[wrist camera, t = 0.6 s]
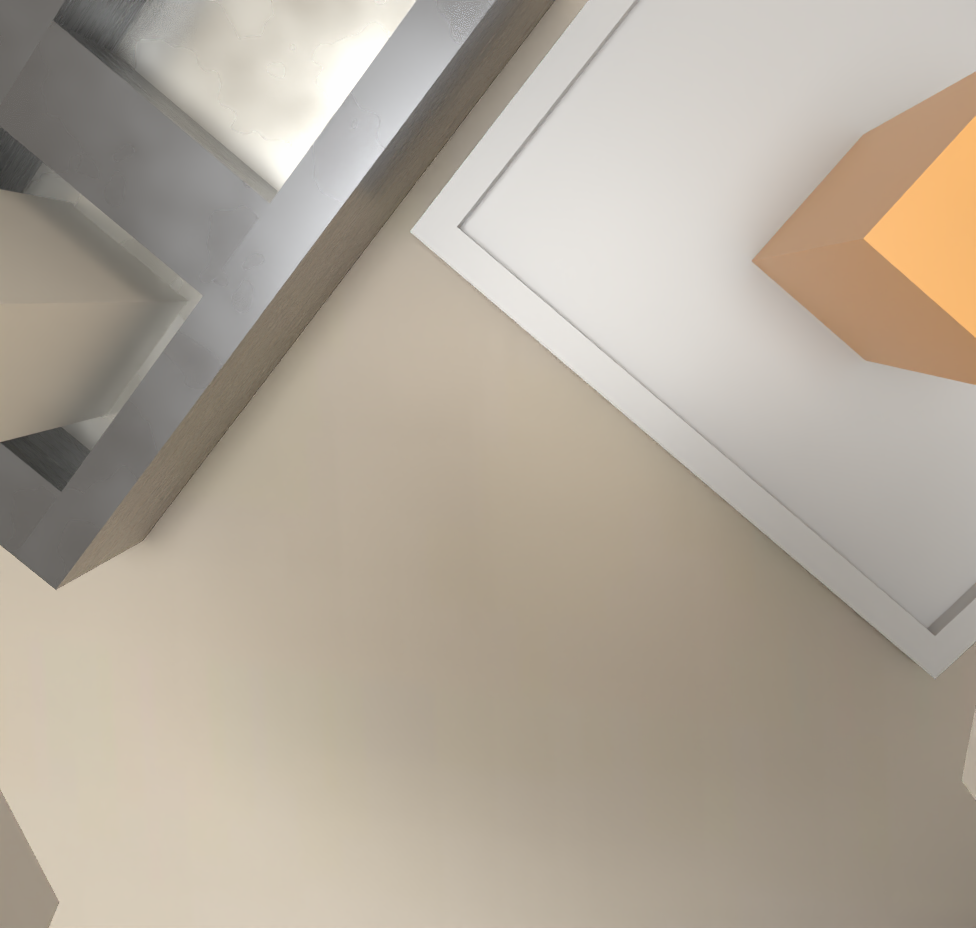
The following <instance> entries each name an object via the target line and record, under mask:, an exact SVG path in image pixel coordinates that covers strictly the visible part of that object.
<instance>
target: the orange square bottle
mask: <svg viewBox="0 0 976 928" xmlns="http://www.w3.org/2000/svg"><path fill="white" fill-rule="evenodd" d="M752 262H753V263H754V264H755V265H756V266H758V267H759V268H760V269H761V270H762V271H763V272H765V273H766V274H767V275H768V276H769V277H770V278H771V279H773V280H774V281H775V282H776V283H777V284H778V285H779V286H781V287H782V288H783V289H784V290H785V291H786V292H787V293H789V294H790V295H791V296H792V297H793V298H794V299H795V300H797V301H798V302H799V303H800V304H801V305H802V306H804V307H805V308H806V309H807V310H808V311H809V312H810V313H812V314H813V315H814V316H815V317H816V318H817V319H818V320H820V321H821V322H822V323H823V324H824V325H825V326H826V327H828V328H829V329H830V330H831V331H832V332H833V333H834V334H836V335H837V336H838V337H839V338H840V339H841V340H843V341H844V342H845V343H846V344H847V345H848V346H849V347H851V348H852V349H853V350H854V351H855V352H856V353H857V354H859V355H860V356H861V357H862V358H863V359H864V360H865V361H870V362H874V363H879V364H883V365H888V366H892V367H897V368H901V369H906V370H910V371H915V372H919V373H924V374H928V375H933V376H937V377H942V378H946V379H951V380H955V381H960V382H964V383H969V384H973V385H976V72H974V73H972V74H970V75H968V76H967V77H965V78H963V79H961V80H960V81H958V82H956V83H954V84H952V85H951V86H949V87H947V88H945V89H944V90H942V91H940V92H938V93H936V94H935V95H933V96H931V97H929V98H927V99H926V100H924V101H922V102H920V103H919V104H917V105H915V106H913V107H911V108H910V109H908V110H906V111H904V112H903V113H901V114H899V115H897V116H895V117H894V118H892V119H890V120H888V121H886V122H885V123H883V124H881V125H879V126H878V127H876V128H874V129H872V130H870V131H869V132H867V133H865V134H863V135H862V136H861V138H860V139H859V140H858V141H857V142H856V143H855V144H854V146H853V147H852V148H851V149H850V150H849V151H848V152H847V153H846V155H845V156H844V157H843V158H842V159H841V160H840V161H839V162H838V164H837V165H836V166H835V167H834V168H833V169H832V170H831V171H830V173H829V174H828V175H827V176H826V177H825V178H824V179H823V181H822V182H821V183H820V184H819V185H818V186H817V187H816V188H815V190H814V191H813V192H812V193H811V194H810V195H809V196H808V197H807V199H806V200H805V201H804V202H803V203H802V204H801V205H800V206H799V208H798V209H797V210H796V211H795V212H794V213H793V214H792V216H791V217H790V218H789V219H788V220H787V221H786V222H785V223H784V225H783V226H782V227H781V228H780V229H779V230H778V231H777V232H776V234H775V235H774V236H773V237H772V238H771V239H770V240H769V241H768V243H767V244H766V245H765V246H764V247H763V248H762V249H761V251H760V252H759V253H758V254H757V255H756V256H755V257H754V258H753V260H752Z"/></svg>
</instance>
